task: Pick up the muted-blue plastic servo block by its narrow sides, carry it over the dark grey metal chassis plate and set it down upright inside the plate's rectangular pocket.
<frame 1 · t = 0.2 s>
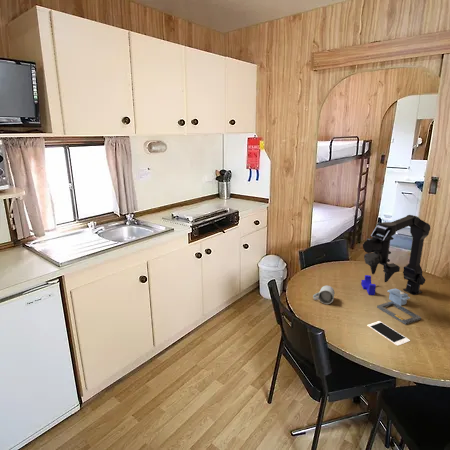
hand: (379, 278, 159), 14 cm above the table, fingers open, 9 cm apart
cell phone: (387, 333, 140), on the table
ceramic mug: (323, 300, 168), on the table
cable clip: (367, 290, 177), on the table
servo block: (397, 301, 164), on the table
chassis plate: (398, 313, 154), on the table
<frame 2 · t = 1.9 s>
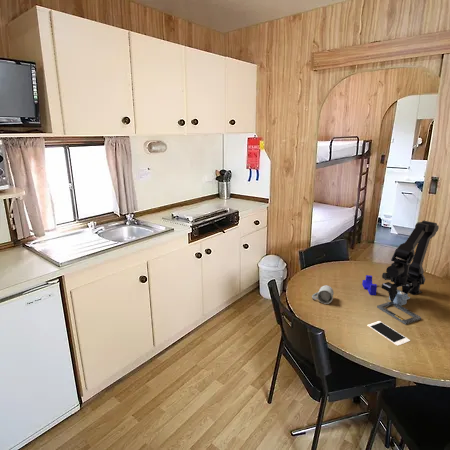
hand: (397, 299, 164), 1 cm above the table, fingers open, 7 cm apart
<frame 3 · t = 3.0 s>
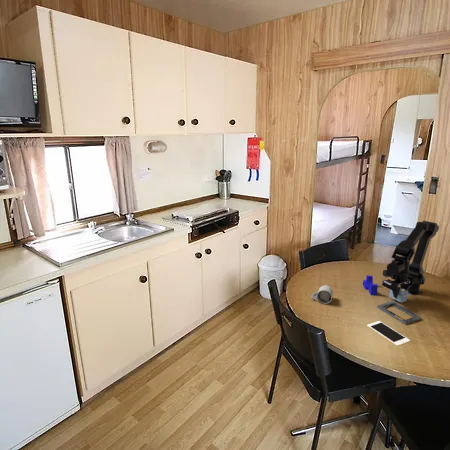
hand: (398, 296, 163), 3 cm above the table, fingers closed on servo block, 4 cm apart
servo block: (397, 298, 164), point 2 cm above the table, touching gripper
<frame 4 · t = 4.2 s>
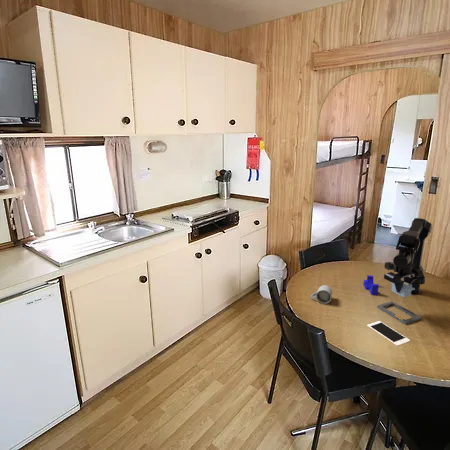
hand: (401, 291, 151), 12 cm above the table, fingers closed on servo block, 4 cm apart
servo block: (400, 293, 151), point 11 cm above the table, touching gripper
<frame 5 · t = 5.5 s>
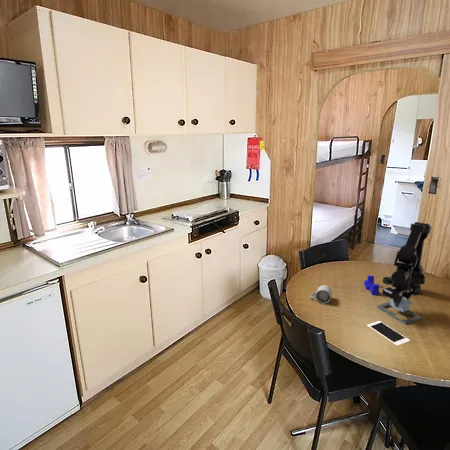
hand: (399, 305, 153), 4 cm above the table, fingers closed on servo block, 4 cm apart
servo block: (399, 307, 153), point 3 cm above the table, touching gripper
when the fingers open (2 cm above the table, at t = 6.2 s): servo block drops 1 cm, resting in chassis plate.
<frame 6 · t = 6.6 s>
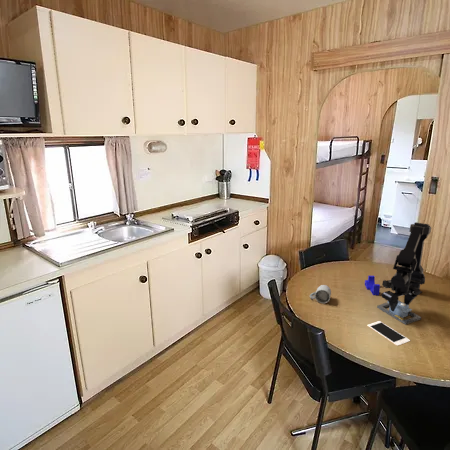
hand: (398, 309, 153), 2 cm above the table, fingers open, 8 cm apart
servo block: (398, 313, 154), resting in chassis plate
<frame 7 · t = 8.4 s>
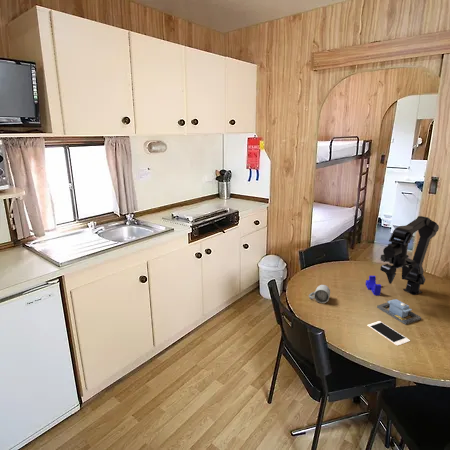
hand: (396, 281, 161), 12 cm above the table, fingers open, 9 cm apart
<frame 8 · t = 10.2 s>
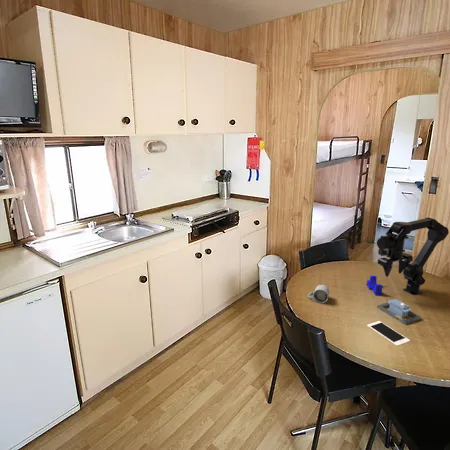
hand: (393, 274, 167), 12 cm above the table, fingers open, 9 cm apart
at the end: servo block 0.1 cm off-centre on the chassis plate, point 0.0 cm above the chassis plate's base; servo block tilted 0°; the gripper is holding nothing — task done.
